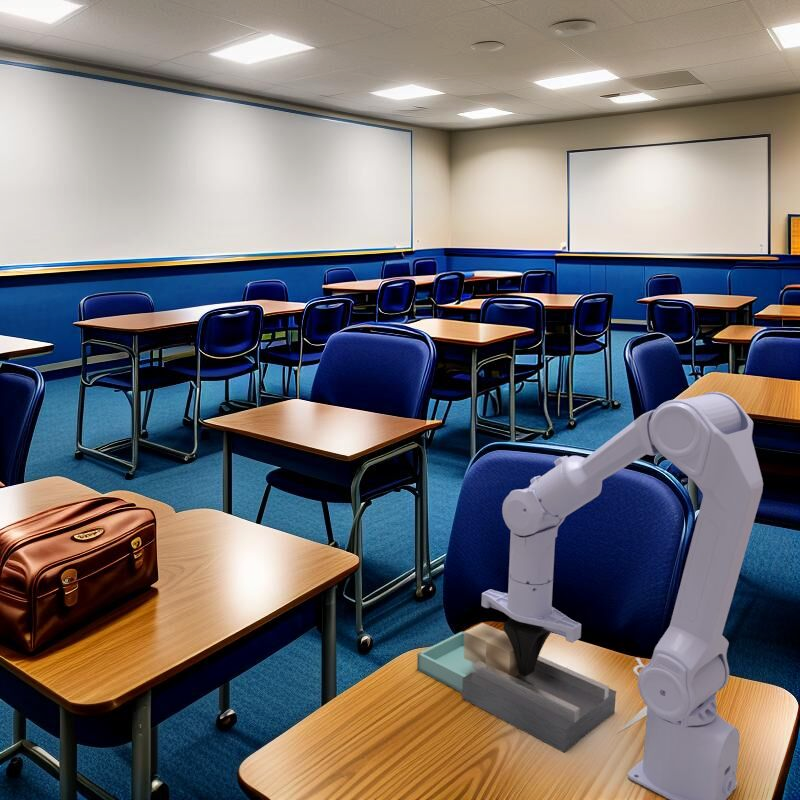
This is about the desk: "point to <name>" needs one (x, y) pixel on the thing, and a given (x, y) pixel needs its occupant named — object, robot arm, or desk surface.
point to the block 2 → (501, 655)
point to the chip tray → (446, 662)
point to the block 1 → (478, 641)
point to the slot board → (542, 700)
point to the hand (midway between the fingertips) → (526, 672)
